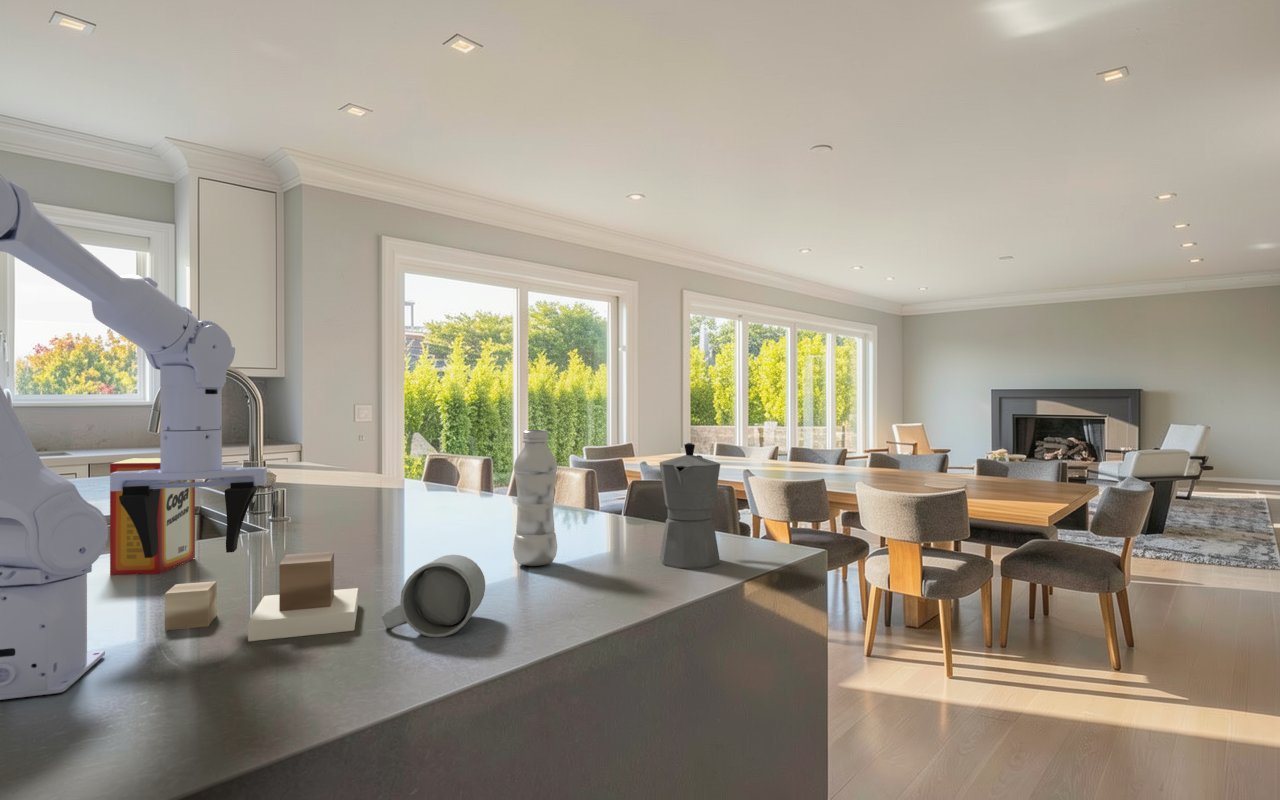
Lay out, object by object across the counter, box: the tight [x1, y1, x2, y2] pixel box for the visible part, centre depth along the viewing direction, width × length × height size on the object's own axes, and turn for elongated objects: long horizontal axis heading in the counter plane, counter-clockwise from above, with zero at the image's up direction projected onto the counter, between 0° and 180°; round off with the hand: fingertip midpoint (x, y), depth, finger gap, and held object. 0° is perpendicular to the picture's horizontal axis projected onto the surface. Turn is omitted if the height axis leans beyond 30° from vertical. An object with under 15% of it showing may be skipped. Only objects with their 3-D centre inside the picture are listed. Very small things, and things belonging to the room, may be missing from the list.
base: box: [247, 587, 359, 642], centre depth 78 cm, size 10×10×2 cm
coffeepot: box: [658, 442, 721, 570], centre depth 108 cm, size 15×9×18 cm, turn 164°
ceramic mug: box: [380, 554, 486, 638], centre depth 77 cm, size 11×8×8 cm
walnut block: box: [278, 551, 335, 611], centre depth 78 cm, size 5×5×5 cm
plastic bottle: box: [512, 429, 558, 567], centre depth 105 cm, size 6×7×20 cm
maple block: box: [164, 580, 218, 631], centre depth 78 cm, size 4×4×4 cm
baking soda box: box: [109, 457, 196, 576], centre depth 104 cm, size 10×6×16 cm
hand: (192, 553), depth 78 cm, fingers open, 7 cm apart
